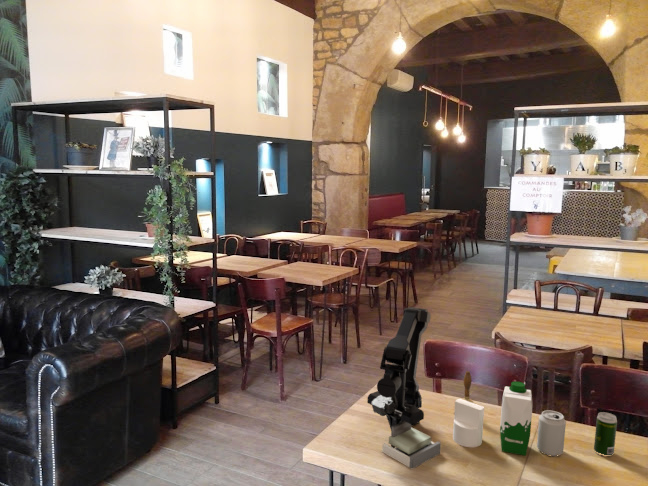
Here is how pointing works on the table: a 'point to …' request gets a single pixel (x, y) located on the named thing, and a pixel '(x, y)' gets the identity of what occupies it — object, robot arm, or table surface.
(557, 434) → the can
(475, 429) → the cylinder with rectangular tab
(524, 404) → the milk carton
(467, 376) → the hand bell
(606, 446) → the beer can
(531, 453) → the table surface
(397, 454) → the tray
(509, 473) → the table surface
